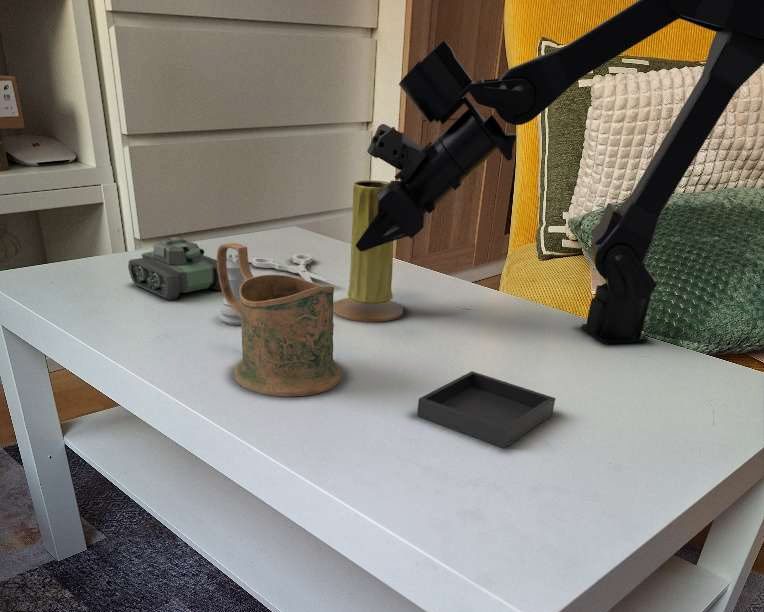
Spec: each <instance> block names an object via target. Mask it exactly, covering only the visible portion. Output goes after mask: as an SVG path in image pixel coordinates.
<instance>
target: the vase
mask: <svg viewBox="0 0 764 612" xmlns="http://www.w3.org/2000/svg"><path fill="white" fill-rule="evenodd" d="M389 183H390V181H389V182H388V181H383V180H357V181H354V182H353V186H352V226H351V241H350V242H351V243H350V244H351V245H350V269H349V284H348V291H347V298H350V299H352V300H354V301H356V302H361V303H369V304H377V303H384V302H388V301H392V299H393V298H394V295H393V291H392V284H393V283H392V281H393V265H394V264H393V261H394V241H391V242H388V243H385V244H382V245H379V246H377V247H374V248H371V249H368V250H365V251H362V252H361V251H359V250H358V248H357V247H356V244H357V242H358V241H359V239H360V238H361V236H362V235H363V234H364V232H365V231H366V229H367V228H368V227H369V225H370V224H371V222H372V221H373V219H374V218H375V217H376V215H377V213H378V201H377V197H376V196H377V195H378V194H379V193H380V192H381V191H382V190H383V189H384V188H385V187H386V186H387V185H388V184H389Z"/></svg>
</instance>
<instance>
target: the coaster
mask: <svg viewBox="0 0 764 612" xmlns="http://www.w3.org/2000/svg"><path fill="white" fill-rule="evenodd" d="M333 313H334V314H336V315H337V316H339V317H341V318H343V319H346V320H347V319H348V320H351V321H356V322H364V323H381V322H389V321H393V320H397V319H399V318H400V317H402V315H403V313H404V309H403V307H402V305H400V304H399V303H397V302H395V301H392V300H390V301H388V302H384V303H377V304H369V303H361V302H356V301H354V300H352V299H350V298H349V297H346V298H343V299H340V300H337V301H336V302H333Z"/></svg>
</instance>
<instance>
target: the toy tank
mask: <svg viewBox="0 0 764 612" xmlns="http://www.w3.org/2000/svg"><path fill="white" fill-rule="evenodd" d="M204 254H205V250H204V249H203V248H200V246H199V245H198V244H197V243H195V242H192V241H189V240H187V239H184V238H182V237H170V236H168V237H167V238H165V239H163V240H161V241H160V242H157V243H156V244H154V245H153V251H147V252H143V253H141V257H140V258H132V259H129V260H128V265H127V268H128V272H129V276H130V279H131V280H132V283H133V284H134V285H135V286H137V287H140V288H142V289H143V290H146V291H149V292H151V293H152V294H155V295H156V296H159V297H161V298H164V299H166V300H168V301H174V300H177V299H178V297H179V295H180V293H183V294H185V293H190V292H195V291H200V290H201V291H202V290H206V289H208V288H211V289H213V290H215V291H222V290H221V287H220V282H219V277H218V269H217V259H215V258H212V257H211V256H207V255H204Z"/></svg>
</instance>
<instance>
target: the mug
mask: <svg viewBox="0 0 764 612" xmlns="http://www.w3.org/2000/svg"><path fill="white" fill-rule="evenodd" d="M229 249H232V250H235V251H236V252H237V254H238V260H239V266H240V270H241V273H242V276H243V278H244V279H245V281H244V282H243V283H242V284H241V286H240V289H239V294H240V303H239V302H238V301H237V300H236V298H235V297H234V295H233V293H232V291H231V288H230V284H229V280H228V274H227V263H226V255H227V253H228V250H229ZM248 253H249V252H248V247H247V246H246V245H243V244H240V243H235V242H231V243H223V244H221V245H220V246H219V247H218V249H217V252H216V260H217V269H218V277H219V282H220V287H221V290H220V291H221V293H222V295H223V298H224V297H225V299H226V301H227V302H228V303H229V305H230V306H231V307H232V308H233V309H234V310H235V311H236V312H237V313H238V315H239V316H240V318H241V325H240V326H241V349H242V359H241V360H240V361H239V362H238V363H237V364H236V366H235V368H234V378H235V380H236V382H237V383H238V385H240V386H241V387H243V388H244V389H247V390H249V391H252V392H254V393H258V394H262V395H266V396H274V397H305V396H311V395H316V394H320V393H324V392H327V391H330V390H331V389H332V388H335V386H337V385H338V384H339V383H340V381H341V379H342V370H341V368H340V365H338V364H337V363H336V361H335V360H334V326H335V323H334V311H333V305H334V293H335V287H334V286H326V285H321V284H319V283H316V282H315V283H314V282H313V281H312V282H313V283H312V282H309V281H306V280H304V279H303V278H299V277H294V276H291V275H287V274H286V275H285V274H263V275H257V276H256V275H255V276H254V274H253V273H252V271H251V268H250V262H248V257H249V256H248Z"/></svg>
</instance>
